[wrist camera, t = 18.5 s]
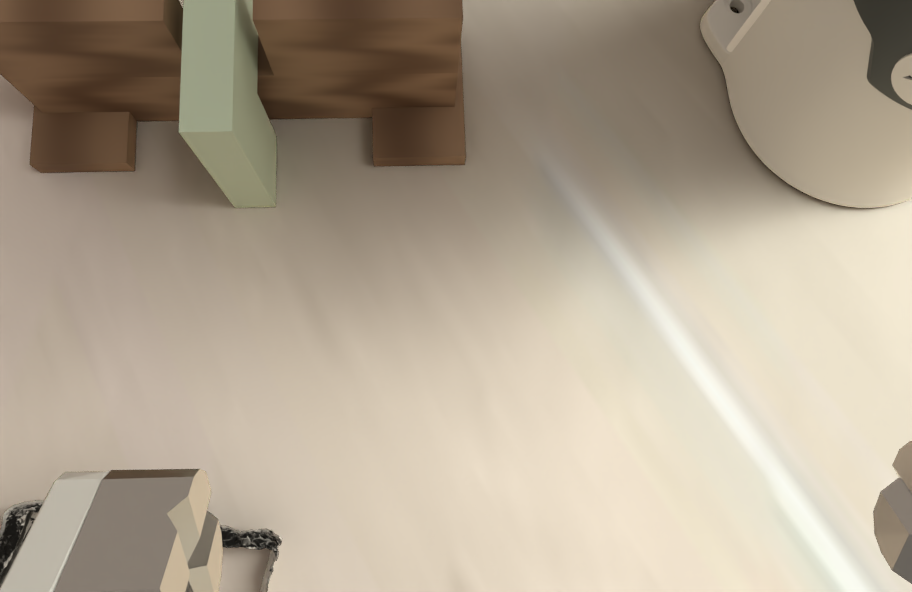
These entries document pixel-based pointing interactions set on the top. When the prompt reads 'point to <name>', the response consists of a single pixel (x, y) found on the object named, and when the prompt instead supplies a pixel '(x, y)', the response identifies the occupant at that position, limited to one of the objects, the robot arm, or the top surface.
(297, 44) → the walnut slotted board
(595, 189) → the top surface
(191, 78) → the green slotted plate
